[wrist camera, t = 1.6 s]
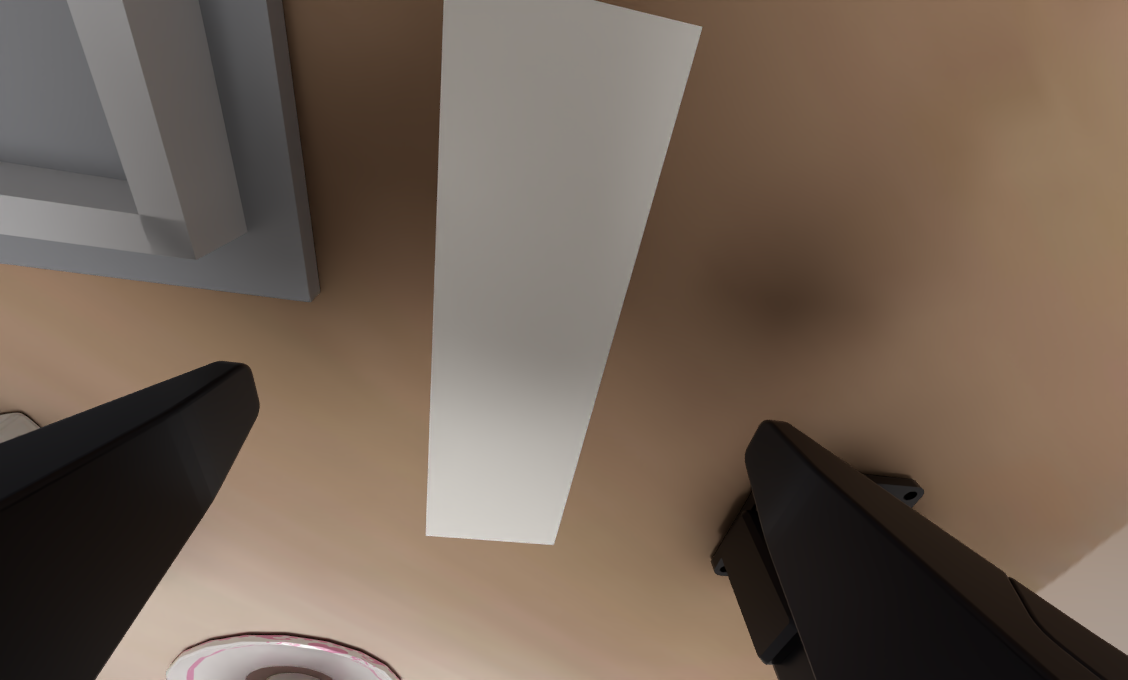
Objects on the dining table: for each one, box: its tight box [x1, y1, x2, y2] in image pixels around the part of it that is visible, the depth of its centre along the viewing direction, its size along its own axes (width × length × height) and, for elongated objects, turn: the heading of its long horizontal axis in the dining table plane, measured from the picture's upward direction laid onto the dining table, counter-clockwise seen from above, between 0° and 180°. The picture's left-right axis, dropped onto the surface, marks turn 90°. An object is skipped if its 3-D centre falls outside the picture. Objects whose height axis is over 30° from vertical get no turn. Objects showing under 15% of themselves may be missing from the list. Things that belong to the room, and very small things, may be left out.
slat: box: [426, 0, 702, 545], centre depth 11 cm, size 4×12×4 cm, turn 169°
